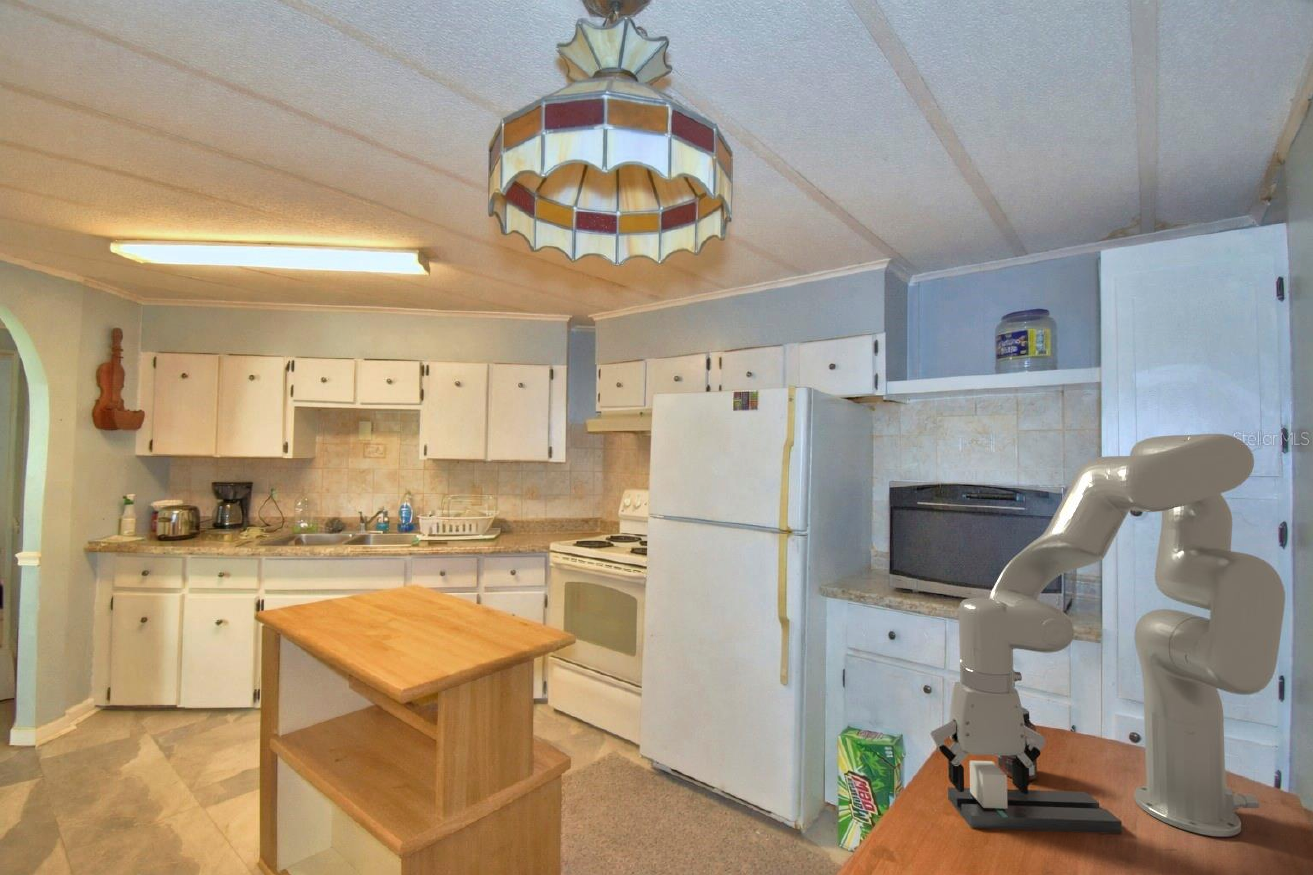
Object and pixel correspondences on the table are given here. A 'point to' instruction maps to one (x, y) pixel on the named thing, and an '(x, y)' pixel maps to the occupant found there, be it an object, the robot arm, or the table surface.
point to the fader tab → (988, 784)
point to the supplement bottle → (1006, 761)
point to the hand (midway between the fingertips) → (988, 788)
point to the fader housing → (1038, 812)
